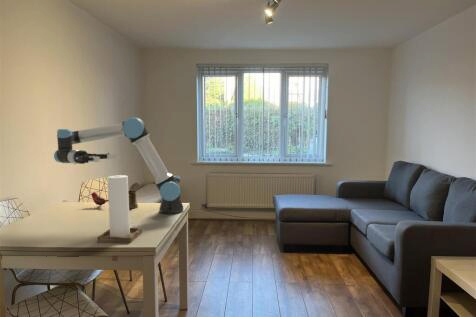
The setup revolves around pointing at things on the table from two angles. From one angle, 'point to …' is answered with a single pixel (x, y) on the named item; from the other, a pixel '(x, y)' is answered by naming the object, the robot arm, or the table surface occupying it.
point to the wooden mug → (133, 196)
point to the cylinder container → (118, 206)
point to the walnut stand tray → (133, 235)
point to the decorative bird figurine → (98, 199)
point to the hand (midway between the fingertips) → (108, 158)
